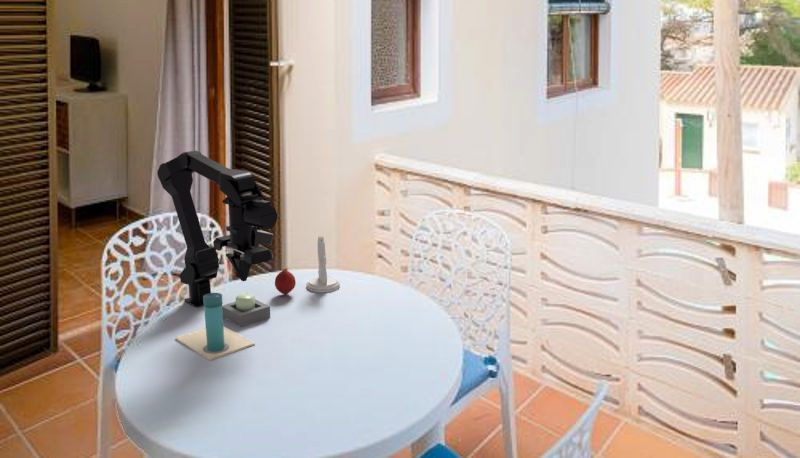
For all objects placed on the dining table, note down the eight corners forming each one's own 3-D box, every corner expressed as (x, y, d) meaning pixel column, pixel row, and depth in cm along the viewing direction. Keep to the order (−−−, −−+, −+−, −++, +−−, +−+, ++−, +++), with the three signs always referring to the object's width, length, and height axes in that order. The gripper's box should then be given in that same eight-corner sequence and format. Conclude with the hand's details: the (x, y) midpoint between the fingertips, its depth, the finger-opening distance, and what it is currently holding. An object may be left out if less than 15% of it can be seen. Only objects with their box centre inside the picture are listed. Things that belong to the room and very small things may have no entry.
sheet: (175, 339, 171) (175, 337, 171) (219, 325, 179) (219, 323, 179) (209, 360, 160) (209, 358, 160) (254, 344, 168) (254, 343, 168)
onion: (291, 299, 197) (290, 272, 195) (272, 297, 198) (271, 270, 196) (298, 291, 202) (297, 265, 200) (279, 290, 203) (278, 264, 201)
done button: (232, 309, 184) (231, 297, 183) (248, 304, 187) (247, 292, 186) (242, 314, 181) (242, 301, 180) (258, 309, 184) (258, 297, 183)
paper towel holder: (309, 293, 201) (308, 243, 197) (303, 282, 210) (302, 234, 206) (343, 290, 204) (342, 240, 200) (336, 279, 213) (335, 231, 209)
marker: (208, 344, 167) (205, 292, 164) (226, 343, 167) (223, 292, 164) (205, 352, 163) (201, 299, 160) (223, 351, 163) (220, 299, 160)
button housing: (221, 316, 184) (221, 305, 184) (251, 307, 190) (250, 297, 190) (240, 326, 178) (240, 315, 177) (270, 317, 184) (270, 306, 184)
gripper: (289, 224, 177) (291, 282, 181) (247, 210, 189) (250, 265, 194) (251, 232, 169) (254, 293, 173) (210, 217, 182) (214, 274, 186)
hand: (243, 280), depth 182 cm, fingers closed
